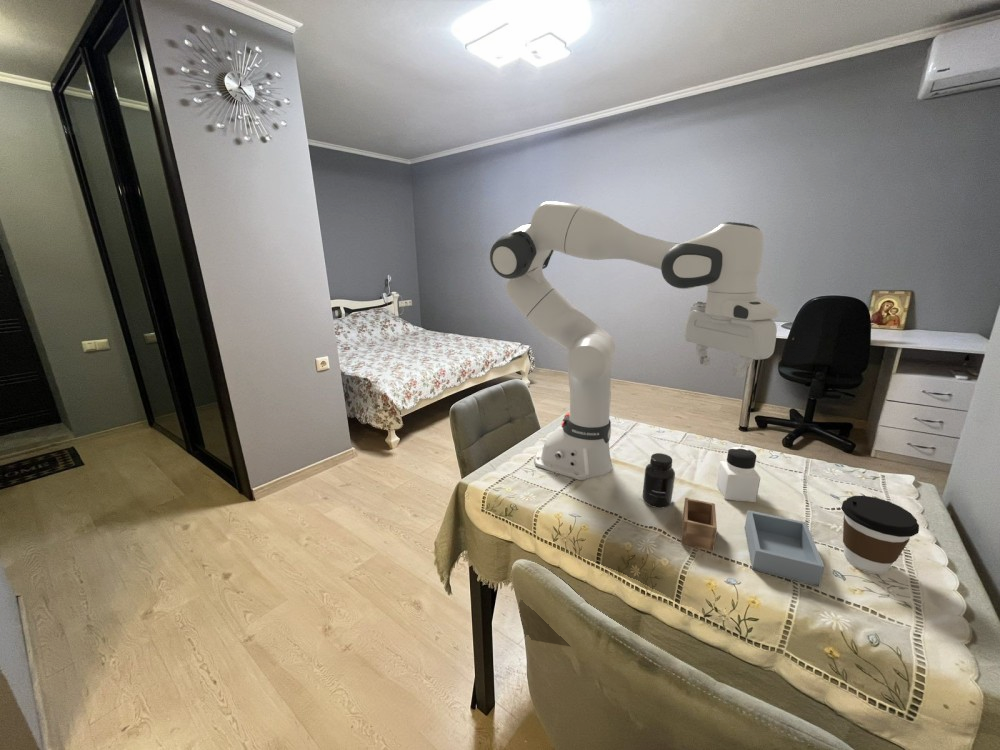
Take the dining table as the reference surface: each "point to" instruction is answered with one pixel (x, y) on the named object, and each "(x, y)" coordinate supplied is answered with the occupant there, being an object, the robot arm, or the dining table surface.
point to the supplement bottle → (659, 481)
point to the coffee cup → (875, 532)
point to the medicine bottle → (738, 475)
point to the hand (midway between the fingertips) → (720, 369)
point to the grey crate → (783, 548)
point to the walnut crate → (699, 524)
